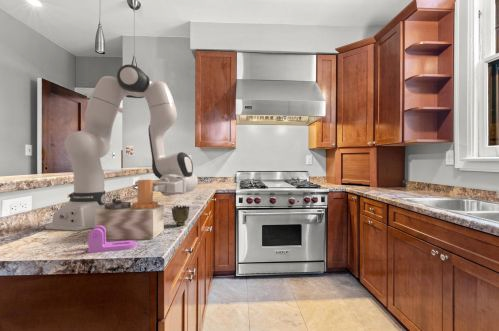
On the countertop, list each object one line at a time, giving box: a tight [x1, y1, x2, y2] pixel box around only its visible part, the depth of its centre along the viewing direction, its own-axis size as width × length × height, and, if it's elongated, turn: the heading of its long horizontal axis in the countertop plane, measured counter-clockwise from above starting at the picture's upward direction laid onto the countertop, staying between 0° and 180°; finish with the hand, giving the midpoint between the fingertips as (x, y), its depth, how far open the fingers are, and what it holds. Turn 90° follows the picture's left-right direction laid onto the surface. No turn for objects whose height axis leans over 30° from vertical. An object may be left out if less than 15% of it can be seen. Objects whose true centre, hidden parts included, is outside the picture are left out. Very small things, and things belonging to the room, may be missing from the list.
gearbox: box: [95, 198, 165, 240], centre depth 102 cm, size 20×13×14 cm, turn 92°
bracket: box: [88, 225, 138, 254], centre depth 86 cm, size 13×6×7 cm, turn 109°
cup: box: [171, 205, 190, 227], centre depth 116 cm, size 8×7×8 cm
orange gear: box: [131, 179, 159, 209], centre depth 102 cm, size 9×9×10 cm
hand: (143, 187), depth 101 cm, fingers open, 8 cm apart
